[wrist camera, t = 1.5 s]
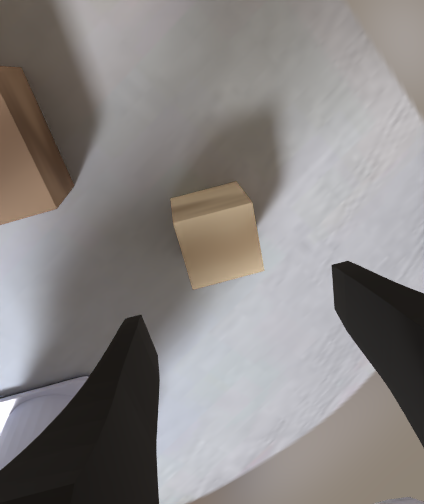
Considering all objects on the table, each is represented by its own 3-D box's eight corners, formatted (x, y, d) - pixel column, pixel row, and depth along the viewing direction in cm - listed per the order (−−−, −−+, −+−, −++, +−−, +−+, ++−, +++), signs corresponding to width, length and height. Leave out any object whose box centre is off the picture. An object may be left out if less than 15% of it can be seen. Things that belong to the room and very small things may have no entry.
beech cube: (247, 240, 23) (264, 270, 19) (187, 256, 23) (192, 289, 19) (236, 180, 21) (252, 202, 17) (170, 197, 21) (173, 223, 17)
